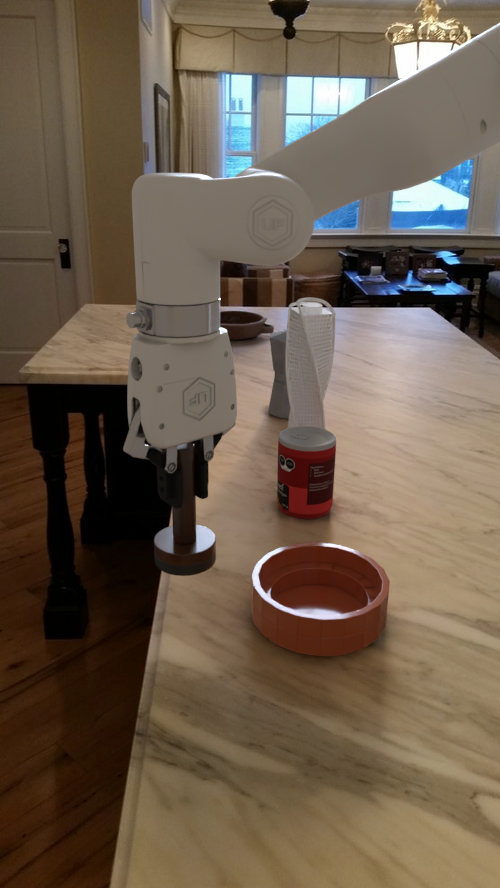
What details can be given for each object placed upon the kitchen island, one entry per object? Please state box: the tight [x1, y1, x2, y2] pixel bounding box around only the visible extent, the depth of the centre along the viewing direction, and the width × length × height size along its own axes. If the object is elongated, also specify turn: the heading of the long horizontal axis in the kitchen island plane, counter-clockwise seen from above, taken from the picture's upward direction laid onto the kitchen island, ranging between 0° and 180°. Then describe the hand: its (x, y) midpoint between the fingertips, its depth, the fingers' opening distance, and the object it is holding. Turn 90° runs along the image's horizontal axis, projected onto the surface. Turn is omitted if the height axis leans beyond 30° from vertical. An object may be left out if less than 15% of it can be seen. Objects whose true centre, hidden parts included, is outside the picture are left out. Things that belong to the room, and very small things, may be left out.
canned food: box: [276, 426, 337, 520], centre depth 99 cm, size 8×8×11 cm
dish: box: [220, 310, 275, 341], centre depth 193 cm, size 18×22×5 cm
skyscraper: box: [285, 297, 336, 430], centre depth 107 cm, size 8×8×28 cm
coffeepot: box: [268, 328, 290, 420], centre depth 133 cm, size 15×9×18 cm, turn 19°
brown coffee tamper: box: [153, 442, 217, 577], centre depth 71 cm, size 6×6×13 cm
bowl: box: [250, 541, 391, 657], centre depth 76 cm, size 15×15×5 cm
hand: (183, 497), depth 71 cm, fingers closed on brown coffee tamper, 2 cm apart
